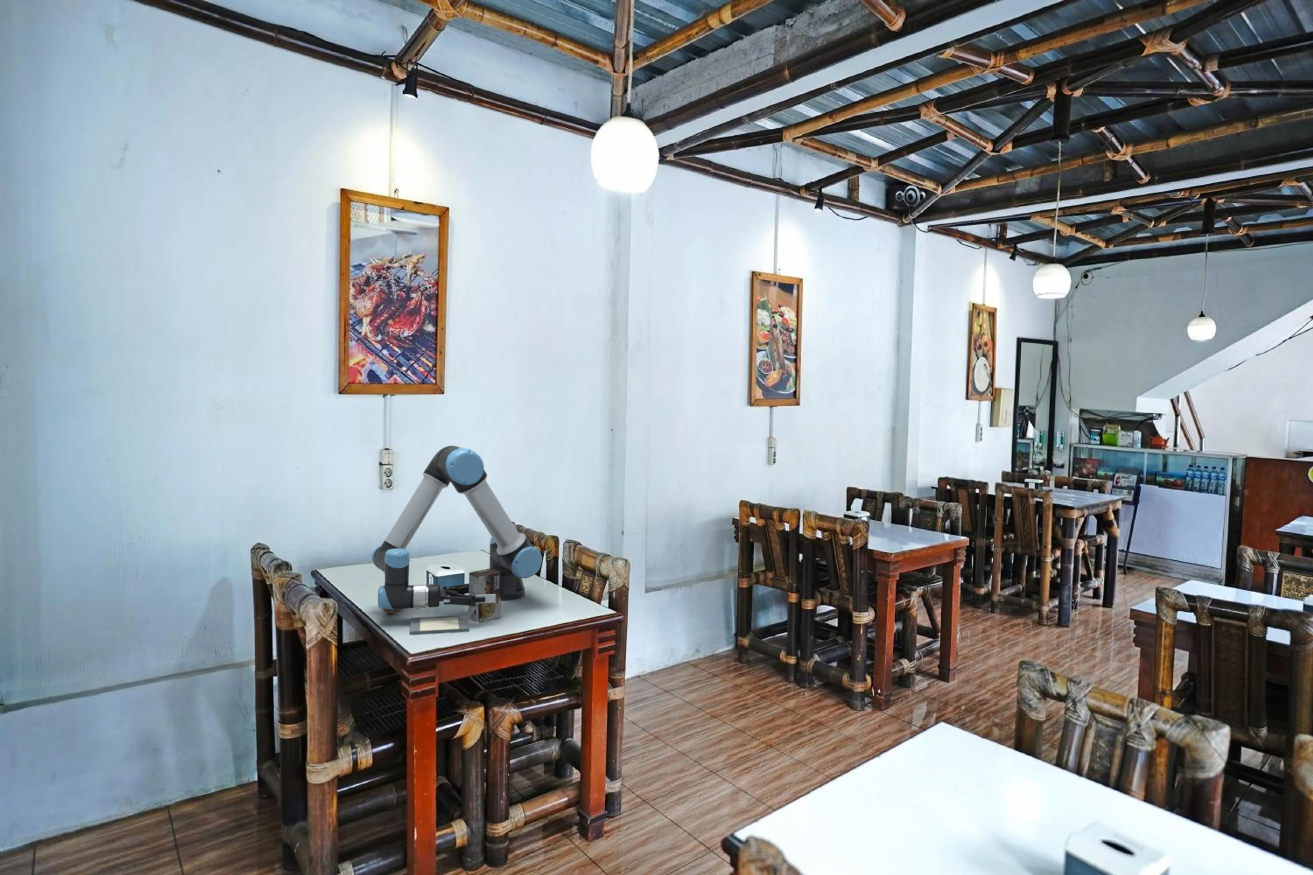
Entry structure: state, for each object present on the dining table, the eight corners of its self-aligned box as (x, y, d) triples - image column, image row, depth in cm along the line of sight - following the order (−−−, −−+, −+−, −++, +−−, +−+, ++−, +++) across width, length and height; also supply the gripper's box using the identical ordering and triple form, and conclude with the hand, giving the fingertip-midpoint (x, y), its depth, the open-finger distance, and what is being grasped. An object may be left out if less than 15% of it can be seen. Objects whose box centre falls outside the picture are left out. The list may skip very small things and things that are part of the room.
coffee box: (490, 613, 260) (491, 567, 259) (500, 617, 255) (502, 571, 254) (467, 618, 253) (468, 571, 252) (477, 623, 249) (479, 575, 248)
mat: (466, 617, 254) (466, 614, 254) (468, 631, 240) (468, 628, 240) (411, 620, 248) (411, 617, 248) (409, 634, 235) (409, 631, 235)
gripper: (427, 596, 260) (491, 594, 266) (426, 617, 237) (496, 614, 244) (427, 575, 259) (491, 573, 266) (427, 594, 237) (497, 592, 243)
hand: (494, 593), depth 255 cm, fingers open, 11 cm apart
